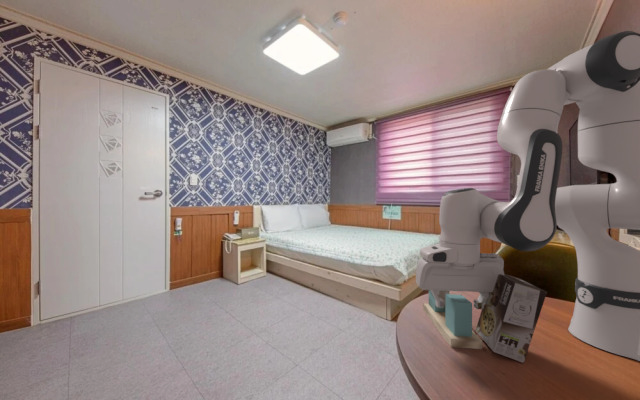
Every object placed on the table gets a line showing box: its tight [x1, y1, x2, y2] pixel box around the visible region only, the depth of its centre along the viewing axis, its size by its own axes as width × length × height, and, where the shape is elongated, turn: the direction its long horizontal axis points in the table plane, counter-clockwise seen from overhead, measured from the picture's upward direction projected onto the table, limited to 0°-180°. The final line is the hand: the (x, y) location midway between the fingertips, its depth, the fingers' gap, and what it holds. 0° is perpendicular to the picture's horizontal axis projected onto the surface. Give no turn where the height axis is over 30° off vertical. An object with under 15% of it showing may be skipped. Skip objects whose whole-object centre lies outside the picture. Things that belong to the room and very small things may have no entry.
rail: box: [422, 290, 483, 350], centre depth 64 cm, size 7×19×10 cm, turn 175°
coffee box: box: [475, 273, 548, 363], centre depth 54 cm, size 9×6×16 cm
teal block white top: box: [445, 293, 473, 337], centre depth 59 cm, size 4×6×8 cm
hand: (458, 307), depth 59 cm, fingers open, 8 cm apart
